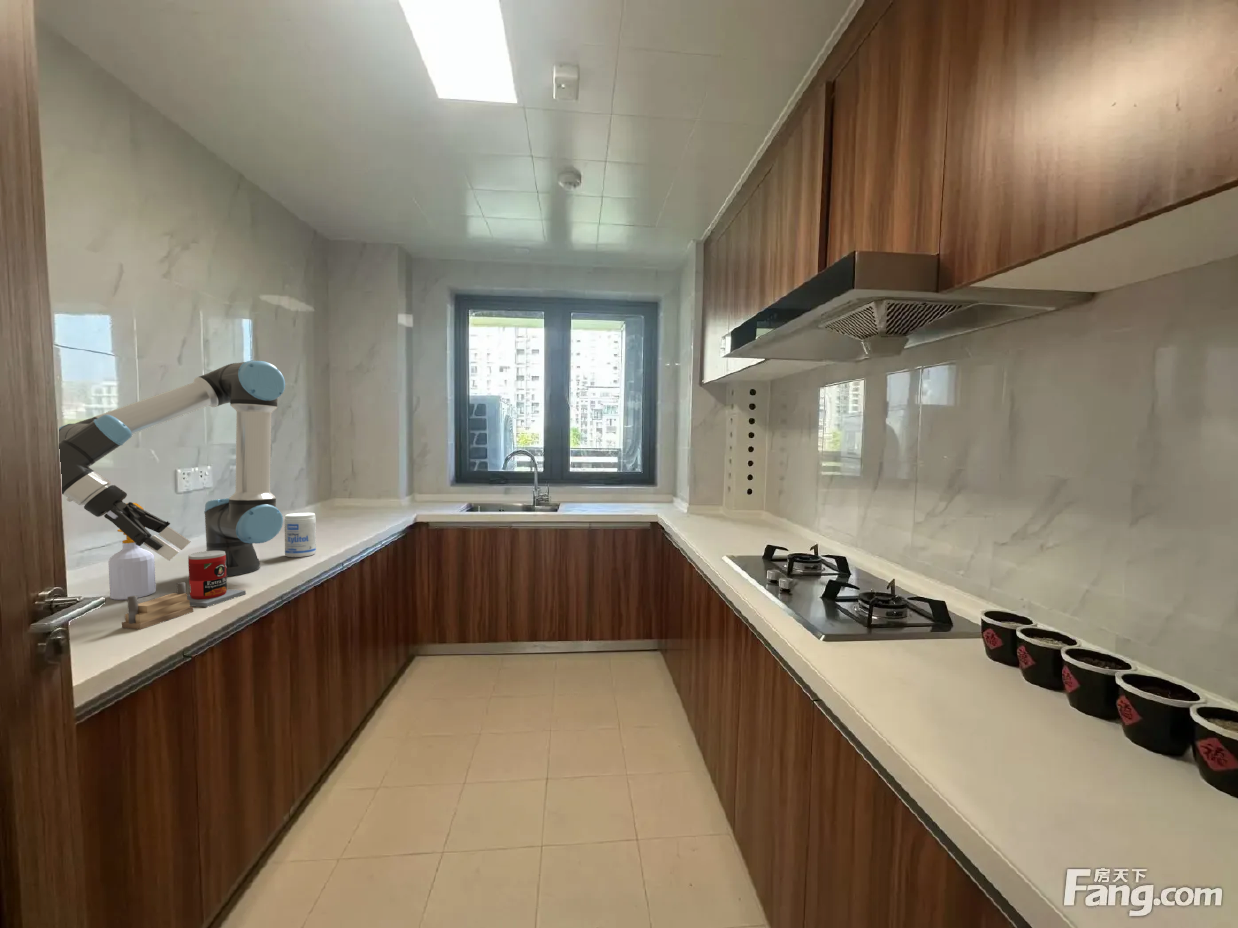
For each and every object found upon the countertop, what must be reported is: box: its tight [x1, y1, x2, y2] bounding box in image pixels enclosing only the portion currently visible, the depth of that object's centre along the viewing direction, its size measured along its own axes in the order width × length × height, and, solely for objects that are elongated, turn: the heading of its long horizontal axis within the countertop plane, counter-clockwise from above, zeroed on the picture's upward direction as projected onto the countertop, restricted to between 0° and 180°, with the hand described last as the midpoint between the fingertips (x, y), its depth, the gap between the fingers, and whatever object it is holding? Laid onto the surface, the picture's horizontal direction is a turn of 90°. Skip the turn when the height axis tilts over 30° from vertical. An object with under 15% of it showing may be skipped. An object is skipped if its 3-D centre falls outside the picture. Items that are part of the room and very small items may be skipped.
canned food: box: [187, 550, 228, 599], centre depth 138 cm, size 8×8×11 cm
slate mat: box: [187, 588, 247, 608], centre depth 138 cm, size 11×11×1 cm
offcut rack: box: [121, 581, 194, 630], centre depth 123 cm, size 12×5×7 cm, turn 169°
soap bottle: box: [107, 502, 157, 601], centre depth 141 cm, size 9×9×25 cm
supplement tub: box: [284, 512, 317, 558], centre depth 189 cm, size 10×10×15 cm
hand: (180, 550), depth 135 cm, fingers open, 13 cm apart
